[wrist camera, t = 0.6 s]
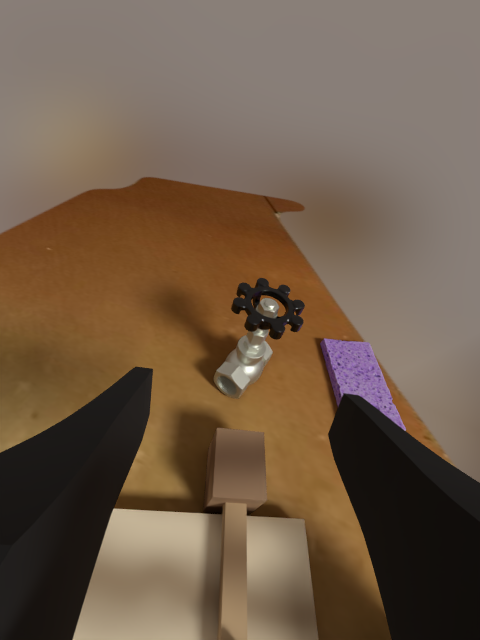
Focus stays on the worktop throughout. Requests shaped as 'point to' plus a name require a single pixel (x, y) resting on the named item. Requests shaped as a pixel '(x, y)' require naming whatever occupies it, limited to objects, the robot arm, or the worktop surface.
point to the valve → (256, 335)
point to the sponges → (358, 375)
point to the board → (195, 579)
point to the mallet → (234, 516)
